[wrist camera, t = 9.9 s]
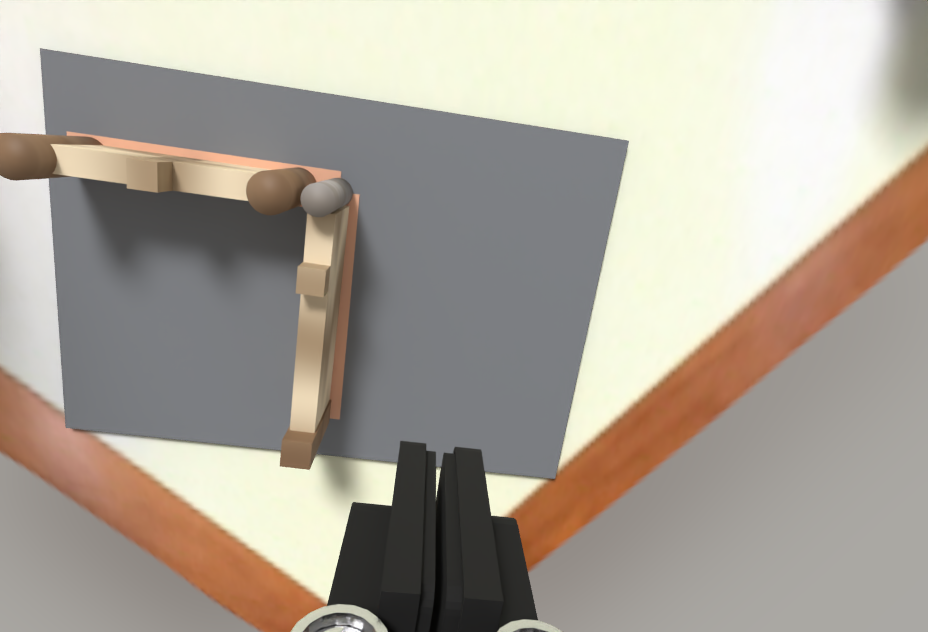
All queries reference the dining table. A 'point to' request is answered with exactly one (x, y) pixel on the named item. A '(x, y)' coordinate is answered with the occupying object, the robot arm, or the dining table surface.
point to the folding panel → (317, 318)
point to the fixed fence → (149, 170)
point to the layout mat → (363, 280)
